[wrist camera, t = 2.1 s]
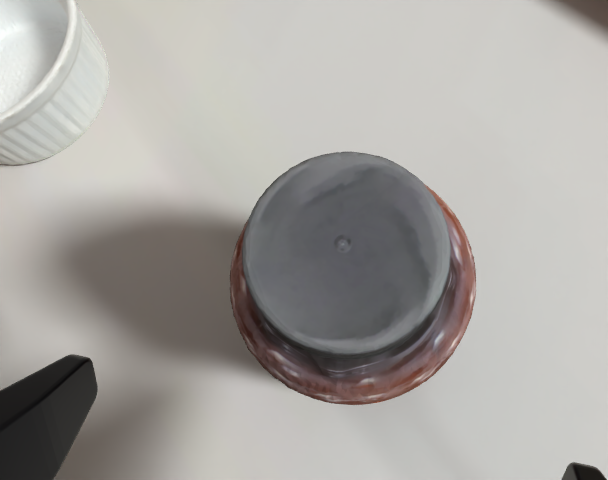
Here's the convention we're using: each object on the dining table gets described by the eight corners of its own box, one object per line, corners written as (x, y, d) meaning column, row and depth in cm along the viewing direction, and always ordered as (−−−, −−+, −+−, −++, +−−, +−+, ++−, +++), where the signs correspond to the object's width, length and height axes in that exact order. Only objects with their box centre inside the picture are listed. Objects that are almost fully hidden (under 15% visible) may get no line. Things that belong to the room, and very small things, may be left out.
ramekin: (-66, 59, 27) (-145, -1, 23) (94, -13, 27) (43, -86, 23) (-31, 208, 25) (-113, 171, 20) (146, 129, 24) (100, 75, 20)
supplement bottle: (252, 318, 21) (126, 243, 11) (357, 216, 22) (341, 46, 11) (358, 435, 20) (339, 486, 9) (470, 320, 20) (579, 240, 9)
